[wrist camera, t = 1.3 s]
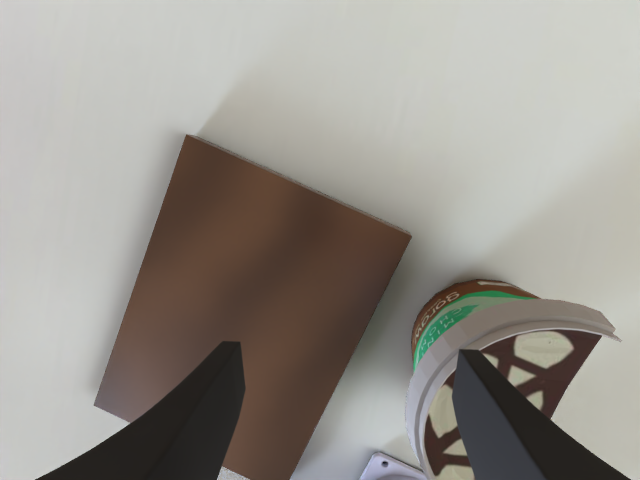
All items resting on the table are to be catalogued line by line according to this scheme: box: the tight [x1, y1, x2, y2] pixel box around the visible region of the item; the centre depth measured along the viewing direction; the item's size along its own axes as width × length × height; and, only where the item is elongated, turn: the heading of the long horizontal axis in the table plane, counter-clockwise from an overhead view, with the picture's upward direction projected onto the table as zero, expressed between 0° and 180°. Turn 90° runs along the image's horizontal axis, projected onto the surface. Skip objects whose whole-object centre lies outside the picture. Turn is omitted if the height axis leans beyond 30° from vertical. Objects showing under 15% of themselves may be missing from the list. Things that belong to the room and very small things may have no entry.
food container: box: [405, 279, 622, 480], centre depth 22 cm, size 12×6×10 cm, turn 156°
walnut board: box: [94, 135, 412, 480], centre depth 28 cm, size 16×22×2 cm
